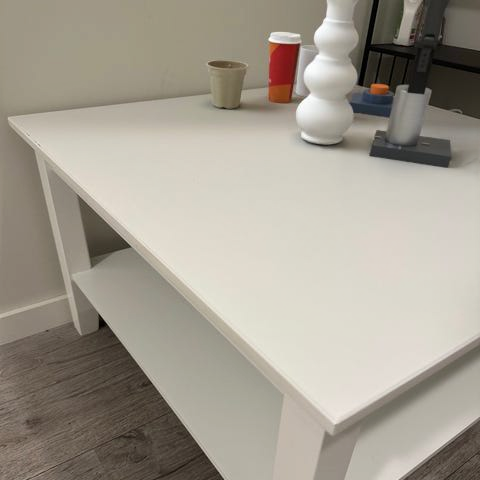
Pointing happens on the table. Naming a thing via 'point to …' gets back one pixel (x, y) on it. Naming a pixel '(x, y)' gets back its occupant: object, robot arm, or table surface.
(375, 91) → the button
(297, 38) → the paper cup
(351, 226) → the table surface
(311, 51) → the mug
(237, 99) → the flower pot
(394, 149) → the control panel
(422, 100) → the dial
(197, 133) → the table surface
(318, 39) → the vase
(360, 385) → the table surface
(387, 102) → the block
